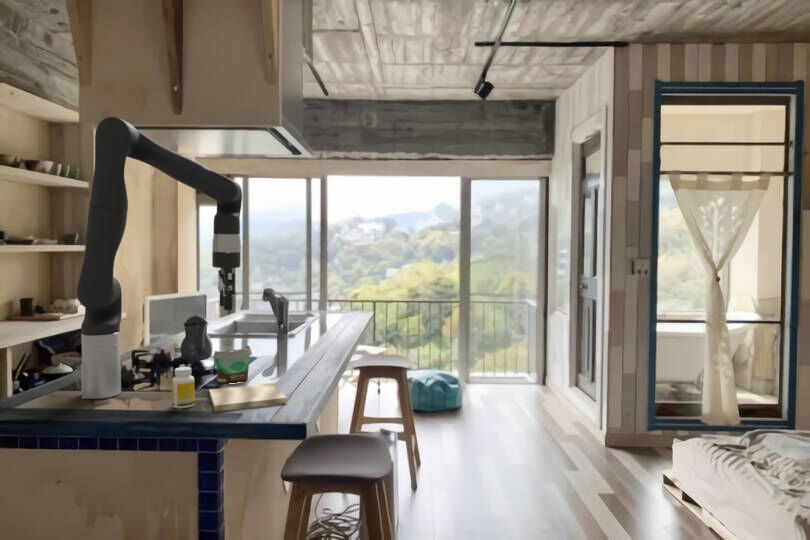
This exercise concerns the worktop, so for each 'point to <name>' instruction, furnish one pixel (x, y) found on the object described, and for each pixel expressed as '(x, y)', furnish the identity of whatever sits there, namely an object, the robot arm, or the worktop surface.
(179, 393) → the supplement bottle
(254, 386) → the birch board
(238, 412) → the worktop surface
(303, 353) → the worktop surface
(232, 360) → the food container
